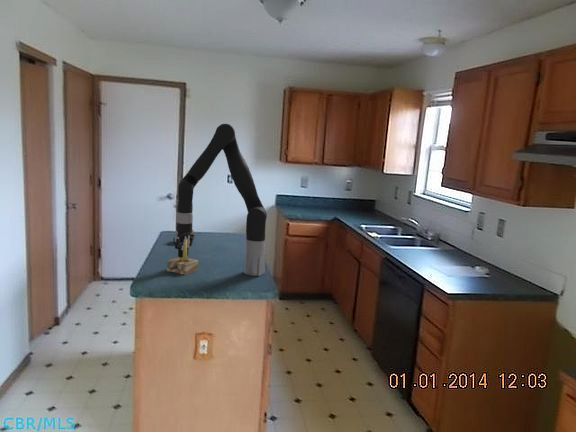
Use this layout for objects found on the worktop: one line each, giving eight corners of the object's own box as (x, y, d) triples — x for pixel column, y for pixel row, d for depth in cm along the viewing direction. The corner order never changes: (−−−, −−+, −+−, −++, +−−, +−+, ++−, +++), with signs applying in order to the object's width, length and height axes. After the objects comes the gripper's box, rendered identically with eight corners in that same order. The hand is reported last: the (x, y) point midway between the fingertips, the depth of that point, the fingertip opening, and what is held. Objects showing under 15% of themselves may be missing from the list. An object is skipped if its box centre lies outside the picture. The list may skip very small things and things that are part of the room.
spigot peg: (187, 266, 218) (189, 238, 216) (183, 268, 215) (184, 239, 213) (181, 265, 220) (183, 237, 217) (177, 266, 216) (178, 238, 214)
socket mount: (198, 270, 220) (198, 260, 219) (181, 276, 208) (181, 266, 207) (179, 266, 224) (180, 256, 223) (162, 272, 212) (162, 262, 211)
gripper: (181, 224, 206) (180, 260, 209) (199, 220, 219) (198, 254, 221) (168, 222, 209) (167, 258, 212) (187, 218, 222) (185, 252, 224)
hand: (183, 256), depth 217 cm, fingers closed on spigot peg, 3 cm apart
